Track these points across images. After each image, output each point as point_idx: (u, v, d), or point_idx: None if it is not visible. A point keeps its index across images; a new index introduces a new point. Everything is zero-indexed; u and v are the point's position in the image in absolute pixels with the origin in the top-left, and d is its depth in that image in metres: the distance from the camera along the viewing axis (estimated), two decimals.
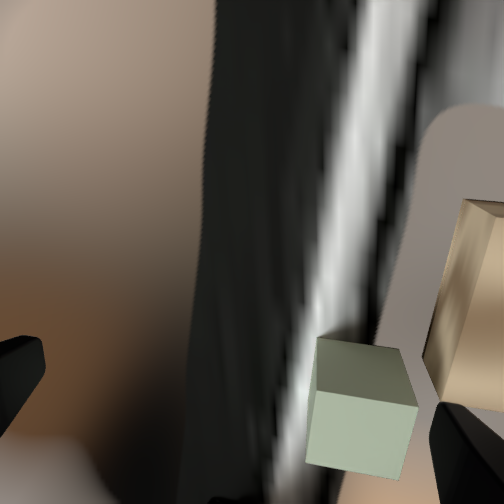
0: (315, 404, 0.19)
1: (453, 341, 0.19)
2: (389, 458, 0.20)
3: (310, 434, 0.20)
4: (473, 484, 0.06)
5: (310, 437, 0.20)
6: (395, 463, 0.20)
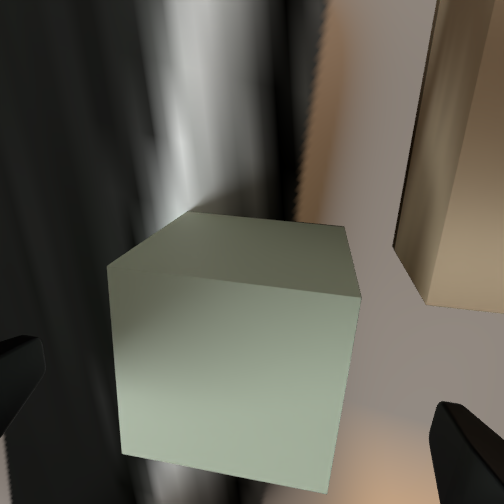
0: (112, 305, 0.08)
1: (452, 139, 0.07)
2: (301, 440, 0.08)
3: (119, 385, 0.08)
4: (473, 484, 0.06)
5: (119, 393, 0.09)
6: (316, 453, 0.08)
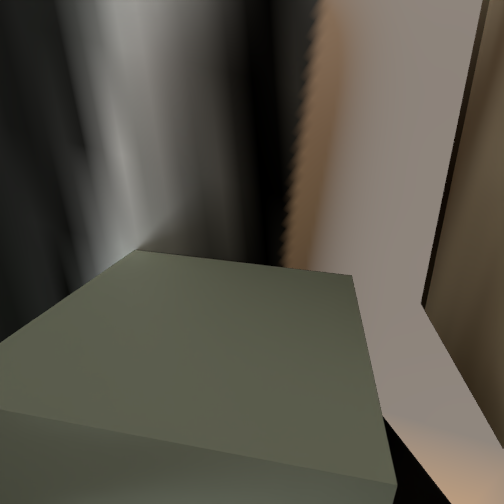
0: None
1: None
2: None
3: None
4: None
5: None
6: None
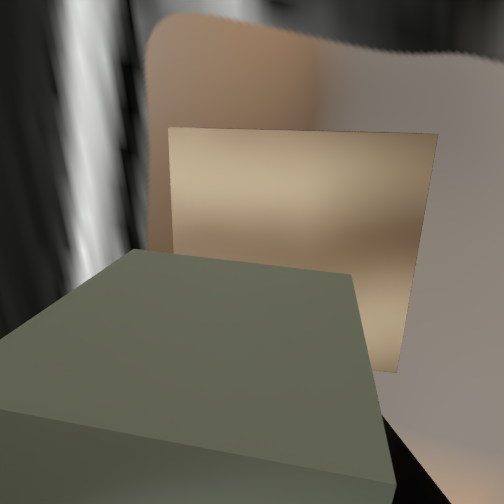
0: None
1: None
2: None
3: None
4: None
5: None
6: None
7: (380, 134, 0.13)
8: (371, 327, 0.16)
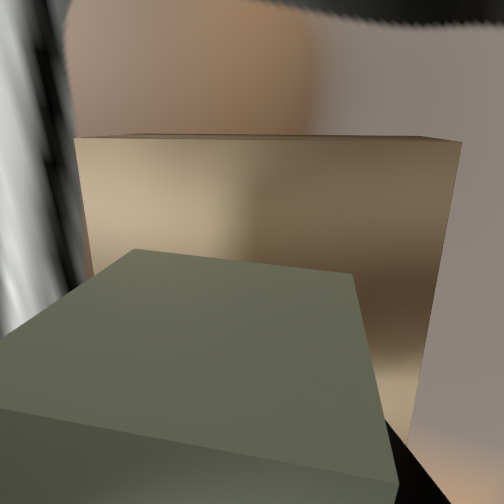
0: None
1: None
2: None
3: None
4: None
5: None
6: None
7: (374, 143, 0.09)
8: None
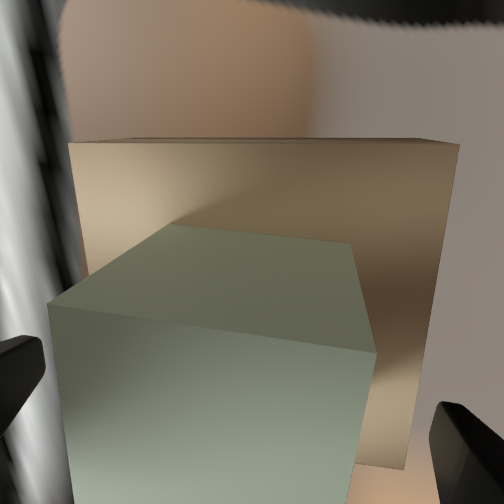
0: (56, 352, 0.06)
1: None
2: None
3: (70, 447, 0.07)
4: (473, 484, 0.06)
5: (71, 456, 0.07)
6: None
7: (371, 146, 0.09)
8: (366, 412, 0.11)
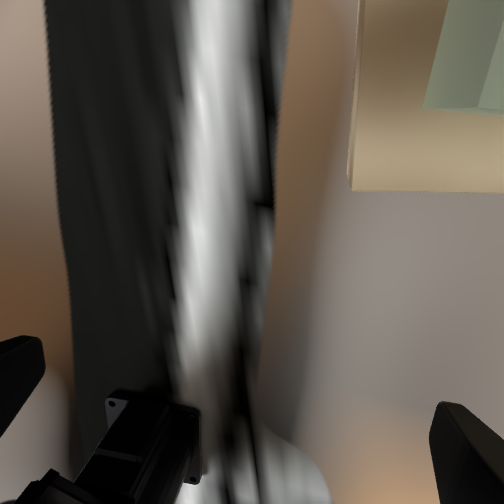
0: None
1: (357, 95, 0.13)
2: None
3: None
4: (473, 484, 0.06)
5: None
6: None
7: None
8: None
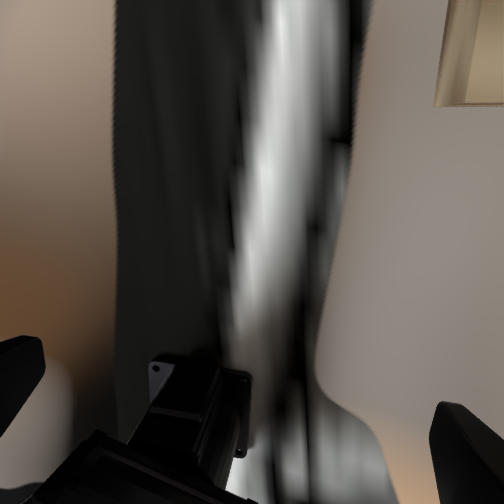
0: None
1: None
2: None
3: None
4: (473, 484, 0.06)
5: None
6: None
7: None
8: None
